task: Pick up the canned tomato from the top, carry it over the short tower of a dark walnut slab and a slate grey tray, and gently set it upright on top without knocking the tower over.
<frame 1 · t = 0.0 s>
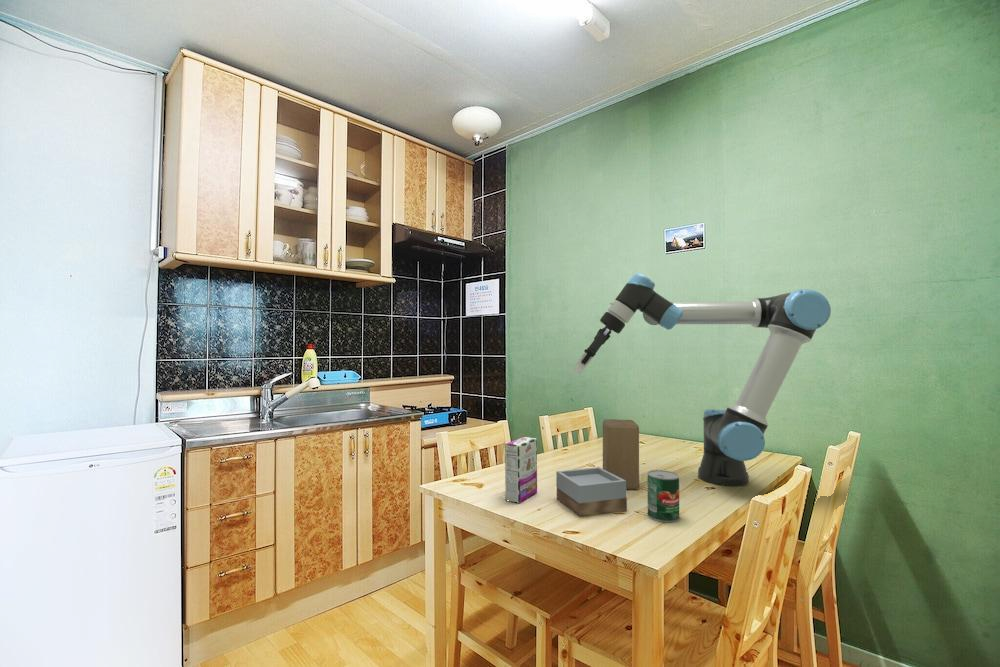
hand: (576, 370, 147), 36 cm above the table, tool tilted 35°, fingers open, 13 cm apart
canned tomato: (663, 517, 118), on the table
walnut block: (590, 506, 126), on the table, touching slate grey tray
slate grey tray: (590, 492, 127), point 4 cm above the table, touching walnut block
block: (620, 485, 144), on the table
candy bar box: (521, 497, 133), on the table
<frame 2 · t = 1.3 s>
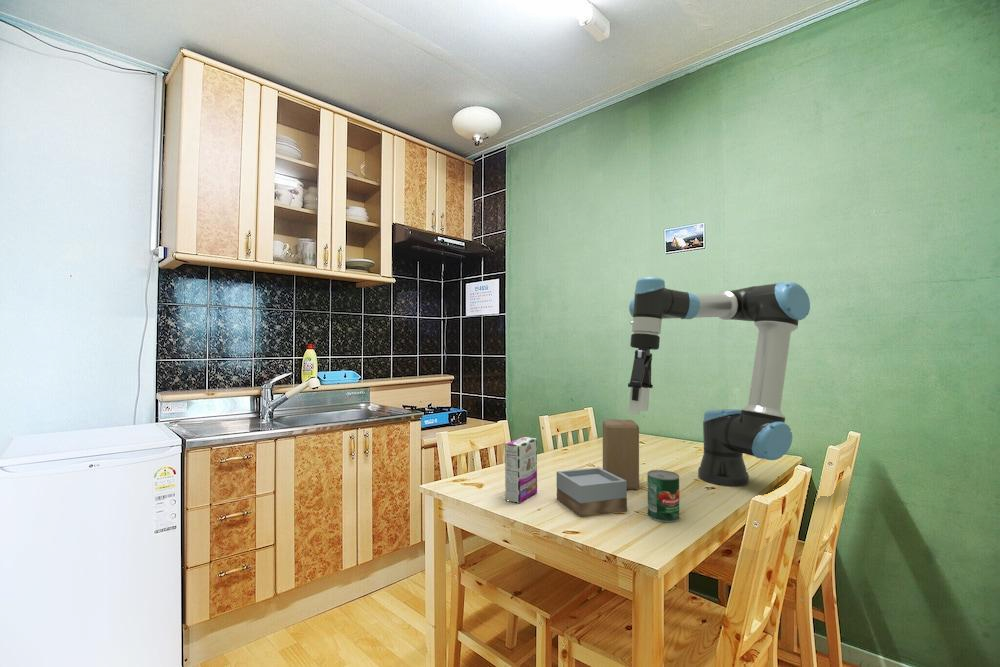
hand: (638, 412, 123), 26 cm above the table, tool pointing down, fingers open, 13 cm apart
nothing on the table moved.
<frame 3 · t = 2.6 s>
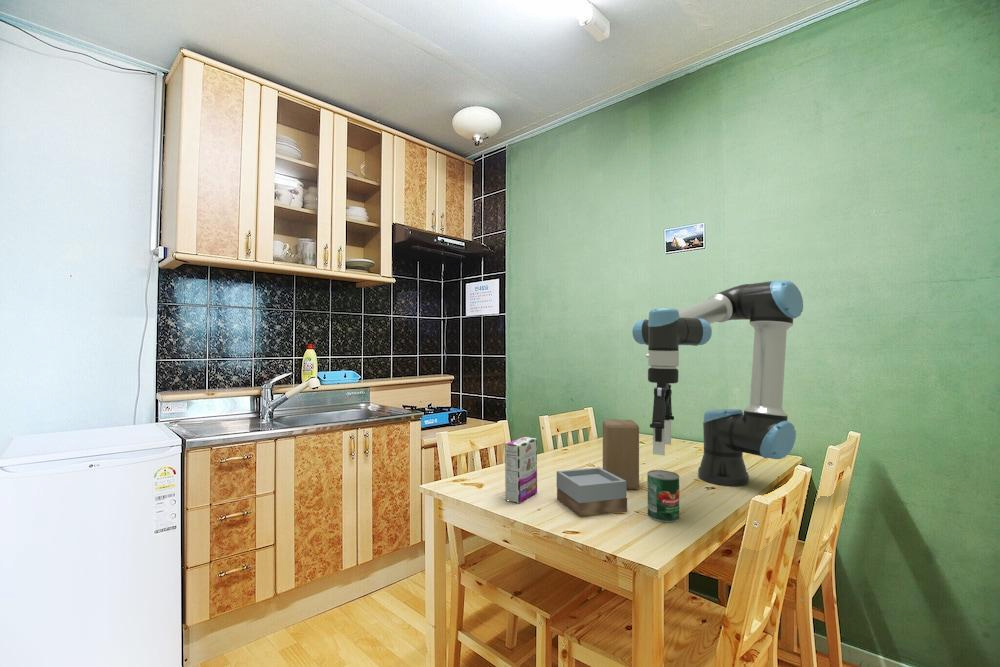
hand: (662, 449, 119), 17 cm above the table, tool pointing down, fingers open, 13 cm apart
nothing on the table moved.
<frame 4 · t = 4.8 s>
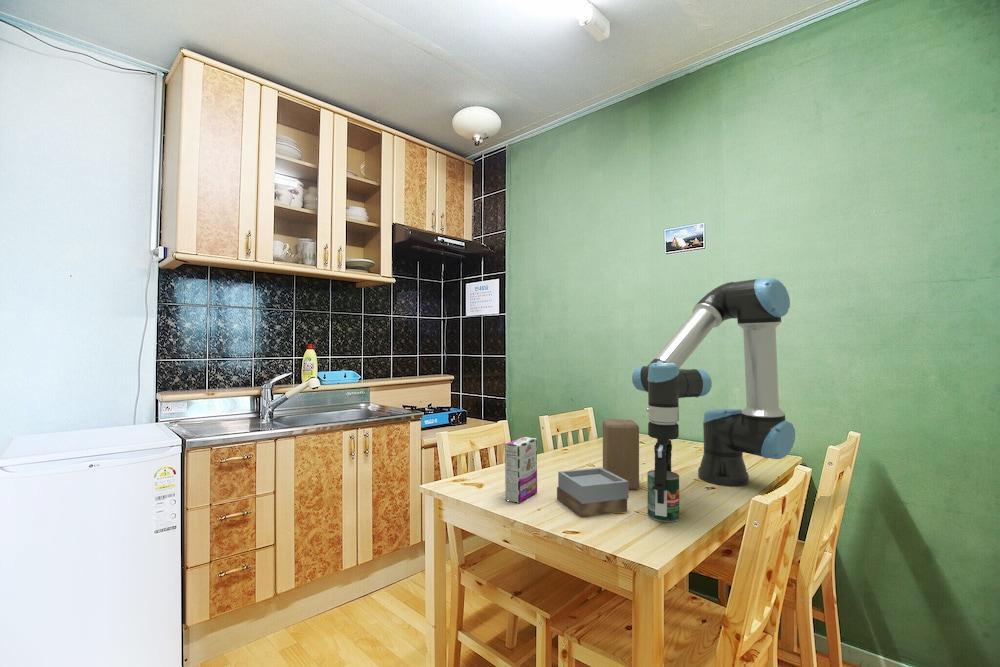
hand: (663, 509, 118), 2 cm above the table, tool pointing down, fingers closed on canned tomato, 8 cm apart
canned tomato: (663, 517, 118), on the table, touching gripper
everything else where it was.
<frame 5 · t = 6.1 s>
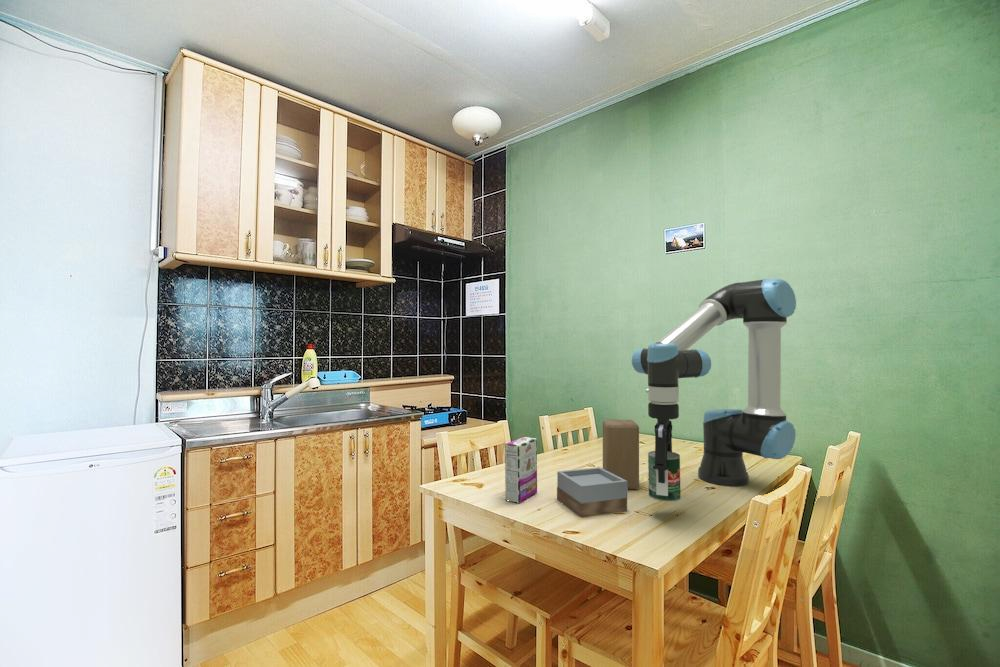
hand: (664, 489, 119), 7 cm above the table, tool pointing down, fingers closed on canned tomato, 8 cm apart
canned tomato: (664, 497, 119), point 5 cm above the table, touching gripper
everything else where it was.
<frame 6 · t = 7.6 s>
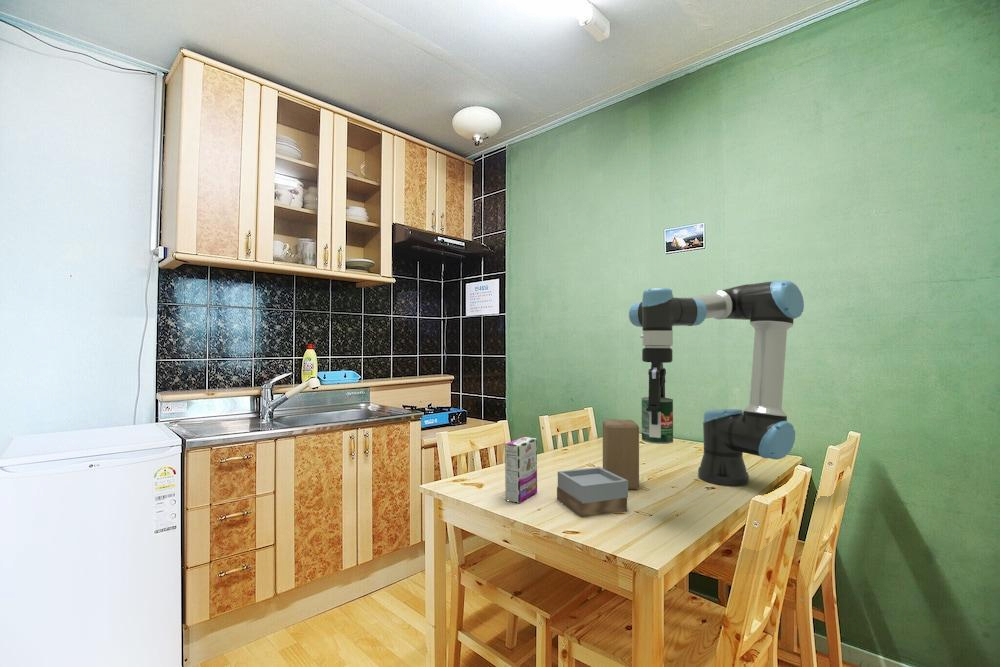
hand: (657, 434, 119), 21 cm above the table, tool pointing down, fingers closed on canned tomato, 8 cm apart
canned tomato: (657, 441, 119), point 19 cm above the table, touching gripper
walnut block: (590, 506, 126), on the table
slate grey tray: (591, 492, 127), point 3 cm above the table
everything else where it was.
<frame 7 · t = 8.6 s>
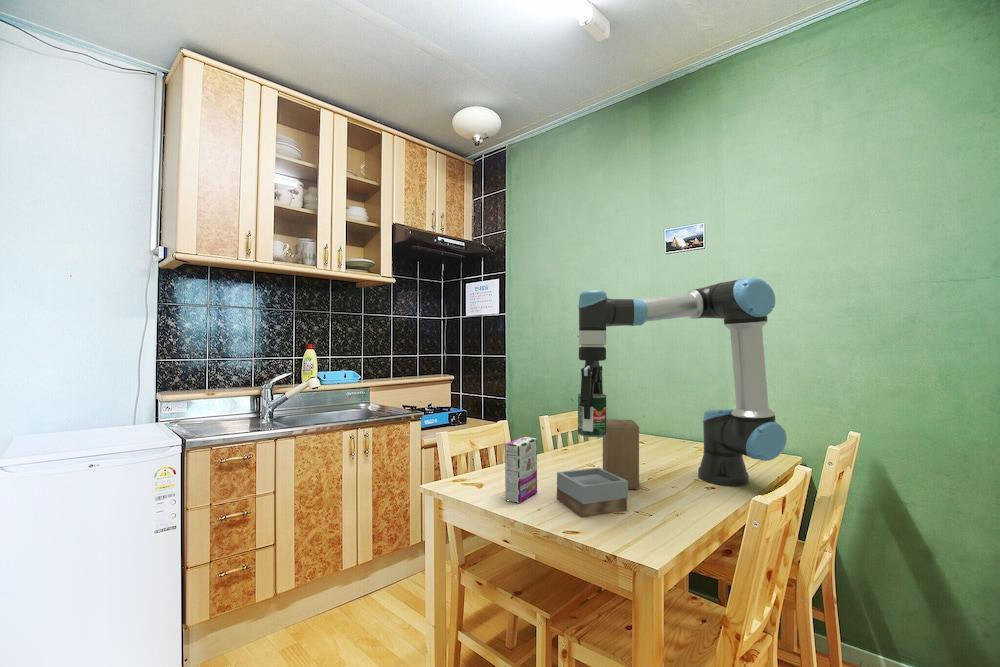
hand: (592, 428, 127), 21 cm above the table, tool pointing down, fingers closed on canned tomato, 8 cm apart
canned tomato: (591, 435, 126), point 19 cm above the table, touching gripper
walnut block: (590, 507, 127), on the table, touching slate grey tray
slate grey tray: (591, 492, 126), point 3 cm above the table, touching walnut block
everything else where it was.
when the fingers open (9 cm above the table, at t = 12.4 s): canned tomato moves 1 cm, point 8 cm above the table.
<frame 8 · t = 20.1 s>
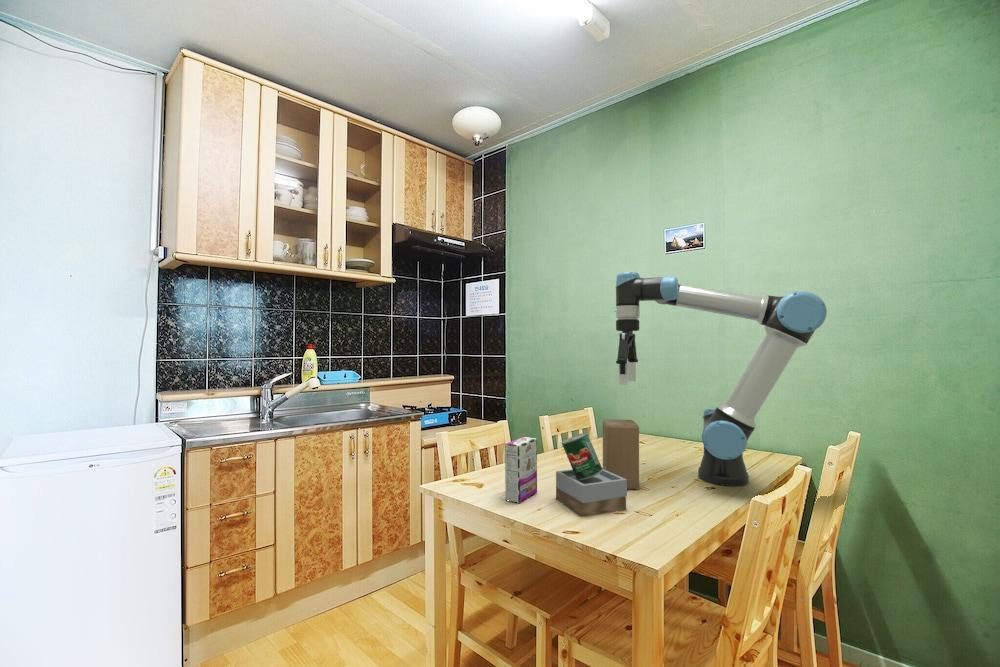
hand: (627, 382, 152), 32 cm above the table, tool pointing down, fingers open, 13 cm apart
canned tomato: (590, 475, 127), point 8 cm above the table
everything else where it was.
at the end: canned tomato inside the target area on the slate grey tray (0.4 cm from its centre), point 3.5 cm above the slate grey tray's base; slate grey tray 0.2 cm off-centre on the walnut block, point 4.0 cm above the walnut block's base; canned tomato tilted 10° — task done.
